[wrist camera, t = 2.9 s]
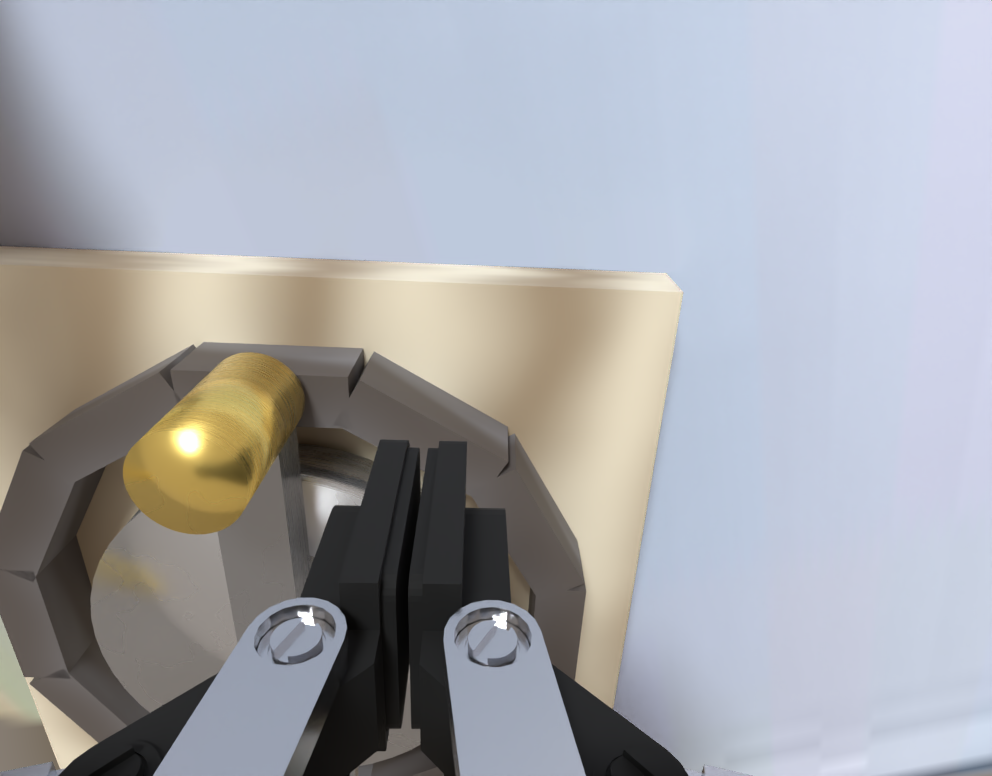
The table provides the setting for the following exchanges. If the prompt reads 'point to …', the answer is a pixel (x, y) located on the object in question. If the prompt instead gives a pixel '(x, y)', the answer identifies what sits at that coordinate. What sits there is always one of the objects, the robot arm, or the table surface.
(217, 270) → the dial plate
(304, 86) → the table surface
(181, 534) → the dial
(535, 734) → the robot arm
